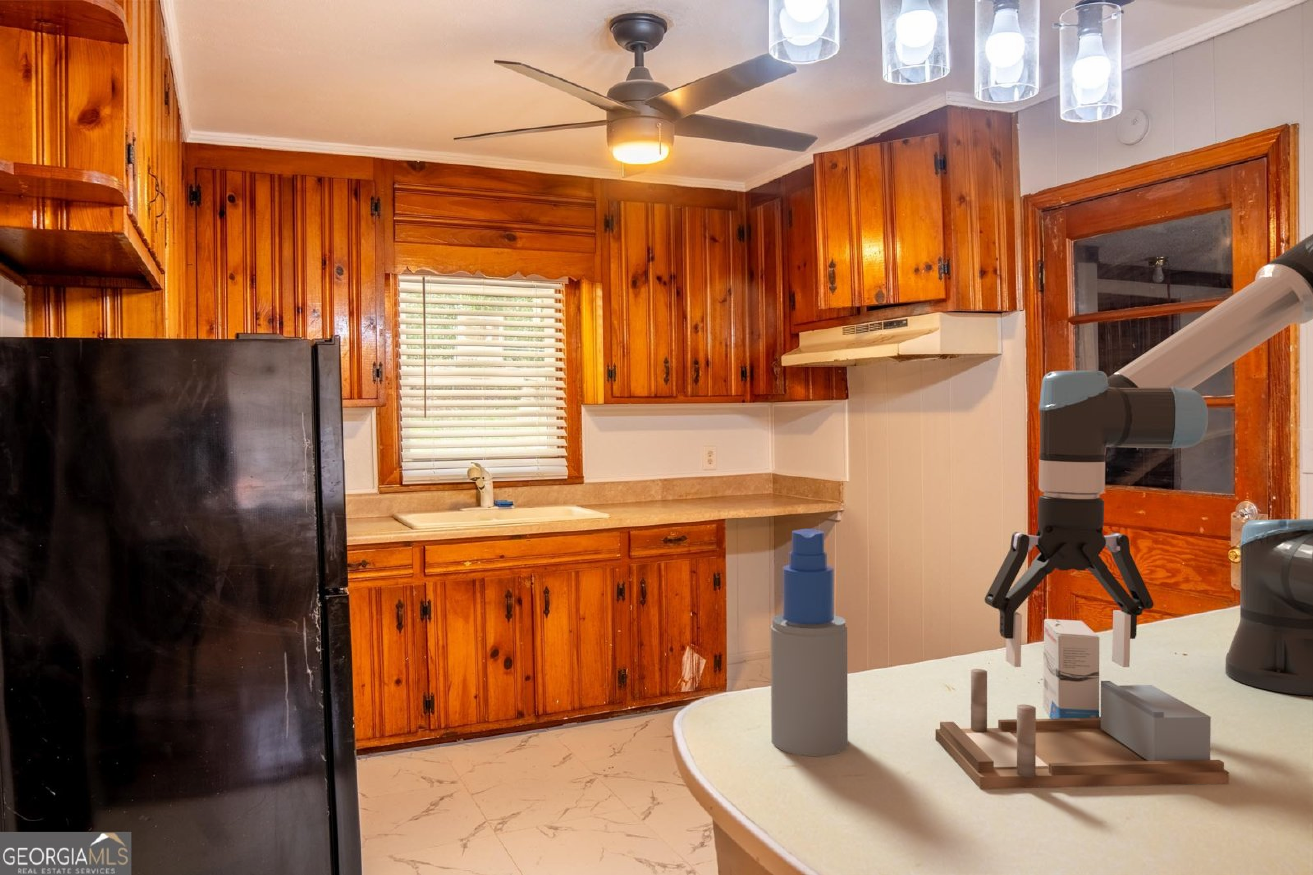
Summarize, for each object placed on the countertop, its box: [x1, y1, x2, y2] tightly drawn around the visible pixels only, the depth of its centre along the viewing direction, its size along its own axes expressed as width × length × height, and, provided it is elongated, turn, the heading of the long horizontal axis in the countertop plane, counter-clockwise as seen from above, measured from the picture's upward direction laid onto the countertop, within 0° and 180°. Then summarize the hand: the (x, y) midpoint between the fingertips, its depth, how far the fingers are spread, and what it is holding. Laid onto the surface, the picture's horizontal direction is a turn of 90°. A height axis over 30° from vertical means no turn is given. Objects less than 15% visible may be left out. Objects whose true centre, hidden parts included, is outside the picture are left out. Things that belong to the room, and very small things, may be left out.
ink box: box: [1042, 618, 1100, 719], centre depth 114 cm, size 8×5×12 cm, turn 168°
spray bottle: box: [770, 528, 849, 757], centre depth 107 cm, size 9×9×25 cm
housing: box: [1100, 680, 1212, 761], centre depth 101 cm, size 6×11×6 cm, turn 1°
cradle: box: [935, 668, 1230, 789], centre depth 101 cm, size 26×15×8 cm, turn 91°
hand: (1066, 664), depth 114 cm, fingers open, 13 cm apart
